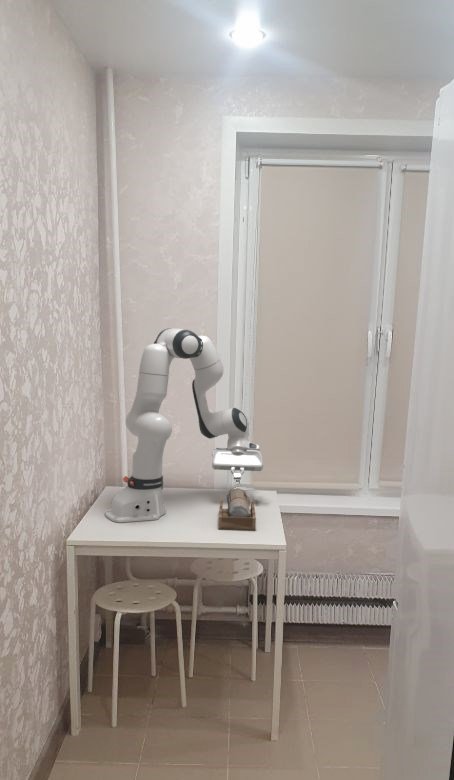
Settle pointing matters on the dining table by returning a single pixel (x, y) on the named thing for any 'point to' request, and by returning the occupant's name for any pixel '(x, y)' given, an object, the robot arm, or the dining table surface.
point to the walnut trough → (236, 520)
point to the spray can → (238, 503)
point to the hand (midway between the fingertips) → (237, 478)
